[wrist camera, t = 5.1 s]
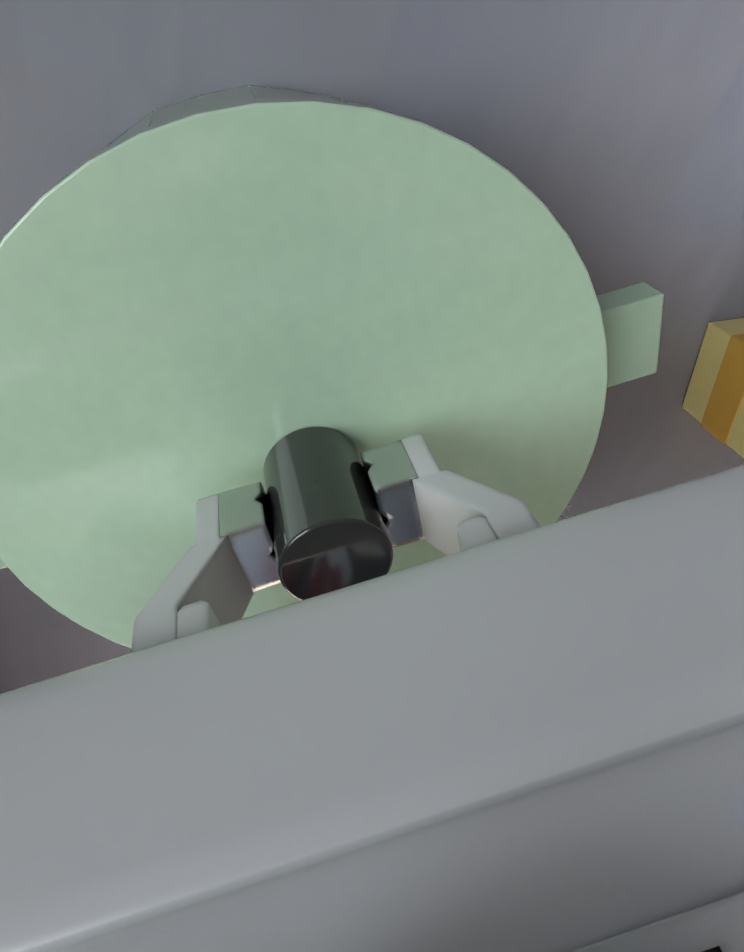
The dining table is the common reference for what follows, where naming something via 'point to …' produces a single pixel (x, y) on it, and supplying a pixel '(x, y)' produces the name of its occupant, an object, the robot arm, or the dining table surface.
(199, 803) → the robot arm
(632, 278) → the dining table surface
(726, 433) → the butter
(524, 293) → the pot lid
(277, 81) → the dining table surface
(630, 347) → the pot
